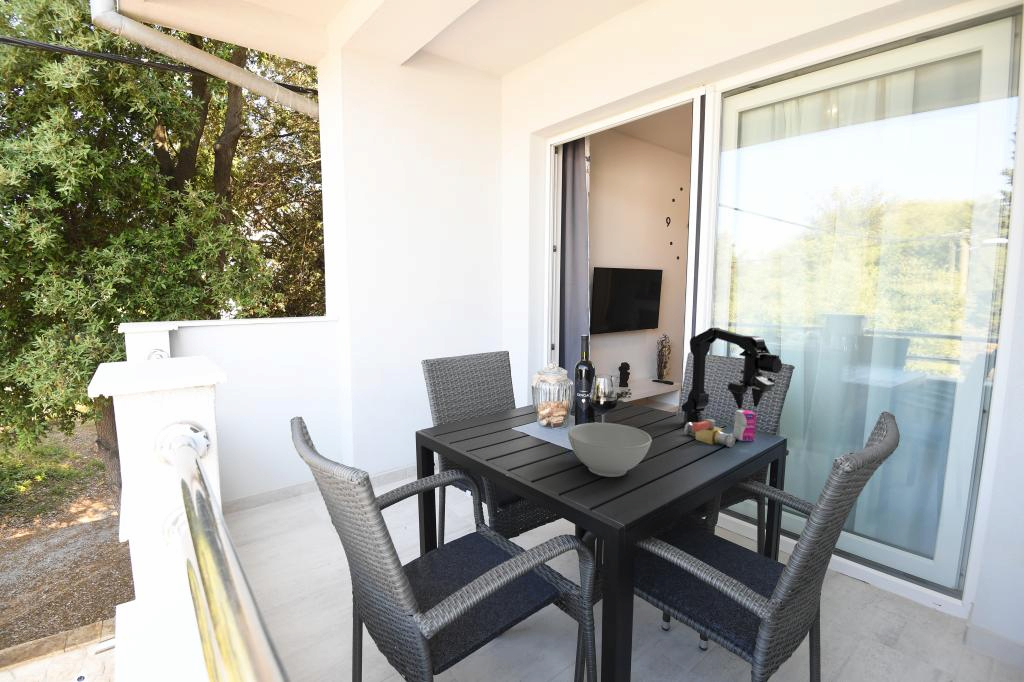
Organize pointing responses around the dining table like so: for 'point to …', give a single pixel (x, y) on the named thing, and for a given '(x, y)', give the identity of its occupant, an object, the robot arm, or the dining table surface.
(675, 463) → the dining table surface
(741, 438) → the supplement box
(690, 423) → the valve body
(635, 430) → the decorative bowl
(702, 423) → the lever
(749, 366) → the robot arm
